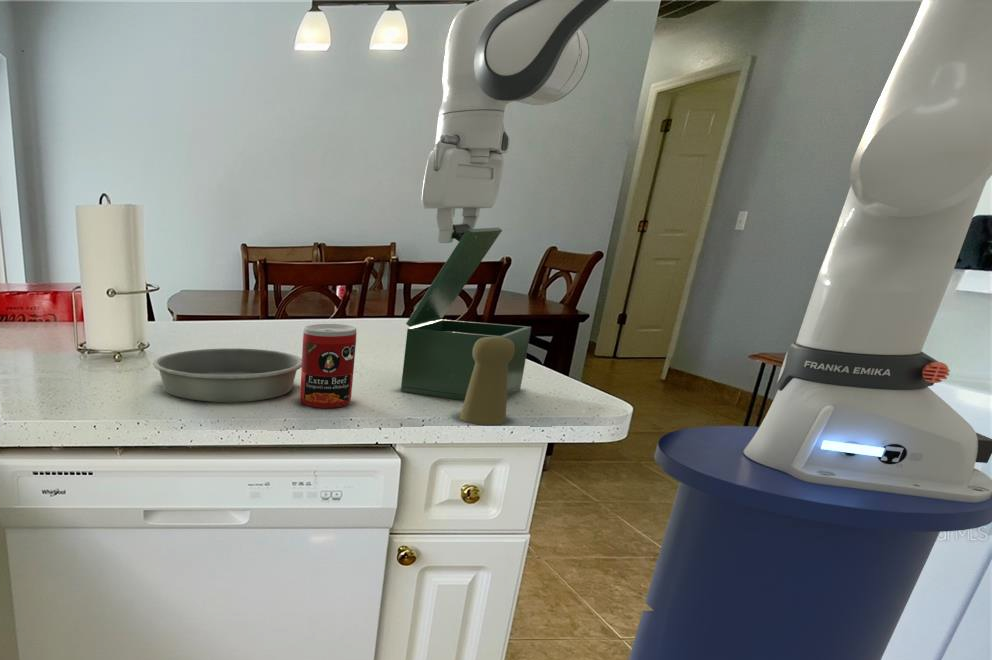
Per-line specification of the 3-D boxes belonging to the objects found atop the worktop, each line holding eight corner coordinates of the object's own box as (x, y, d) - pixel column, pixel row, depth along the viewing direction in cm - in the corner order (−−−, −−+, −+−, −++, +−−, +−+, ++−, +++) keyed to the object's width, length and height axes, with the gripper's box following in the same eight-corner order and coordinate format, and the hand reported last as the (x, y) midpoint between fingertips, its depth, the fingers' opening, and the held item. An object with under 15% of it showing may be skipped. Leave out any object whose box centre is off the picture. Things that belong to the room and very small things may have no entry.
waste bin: (520, 389, 114) (531, 326, 110) (492, 404, 105) (503, 337, 101) (432, 378, 123) (440, 319, 119) (400, 391, 114) (407, 328, 110)
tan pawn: (461, 423, 96) (473, 340, 92) (457, 412, 102) (468, 333, 97) (509, 425, 95) (524, 341, 90) (502, 414, 100) (516, 334, 96)
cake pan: (293, 371, 129) (294, 346, 127) (311, 405, 106) (313, 374, 104) (158, 372, 129) (157, 347, 127) (148, 406, 107) (147, 376, 105)
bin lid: (502, 230, 108) (476, 212, 110) (471, 232, 100) (443, 213, 101) (442, 317, 118) (419, 300, 120) (409, 326, 110) (385, 308, 111)
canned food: (299, 408, 105) (303, 331, 100) (299, 395, 112) (303, 323, 107) (352, 409, 104) (358, 332, 99) (349, 396, 111) (355, 323, 106)
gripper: (461, 130, 93) (448, 244, 98) (514, 140, 107) (499, 239, 112) (415, 134, 96) (405, 244, 102) (472, 144, 111) (460, 239, 116)
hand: (455, 242), depth 107 cm, fingers closed on bin lid, 6 cm apart
